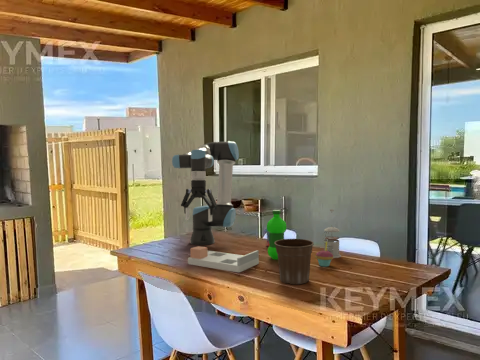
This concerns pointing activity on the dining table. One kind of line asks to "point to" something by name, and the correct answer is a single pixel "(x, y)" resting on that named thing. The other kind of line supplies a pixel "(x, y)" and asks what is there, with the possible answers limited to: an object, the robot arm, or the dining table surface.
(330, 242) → the french press
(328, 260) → the cupcake
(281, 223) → the plastic bottle
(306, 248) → the plant pot
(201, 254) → the block
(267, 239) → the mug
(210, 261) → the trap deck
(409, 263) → the dining table surface
